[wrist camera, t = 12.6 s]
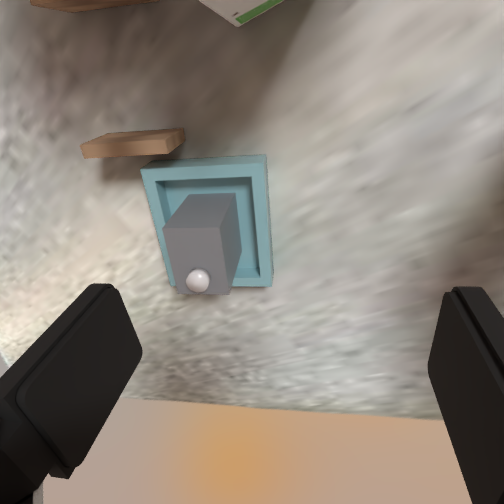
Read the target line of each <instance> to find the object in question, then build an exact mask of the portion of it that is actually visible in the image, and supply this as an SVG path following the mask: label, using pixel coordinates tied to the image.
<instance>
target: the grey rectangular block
mask: <svg viewBox="0 0 504 504" xmlns="http://www.w3.org/2000/svg"><path fill="white" fill-rule="evenodd" d="M162 231H163V235H164V239H165V243H166V247H167V251H168V255H169V259H170V263H171V267H172V272H173V276H174V280H175V284H176V288H177V292H178V294H218V295H229V294H230V290H231V287H232V283H233V280H234V277H235V273H236V270H237V266H238V263H239V259H240V256H241V253H242V246H241V237H240V228H239V219H238V210H237V201H236V193H209V194H189V195H188V196H187V197H186V199H185V200H184V201H183V202H182V204H181V205H180V206H179V207H178V209H177V210H176V211H175V213H174V214H173V215H172V216H171V218H170V219H169V220H168V221H167V223H166V224H165V225H164V226H163V228H162Z"/></svg>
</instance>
